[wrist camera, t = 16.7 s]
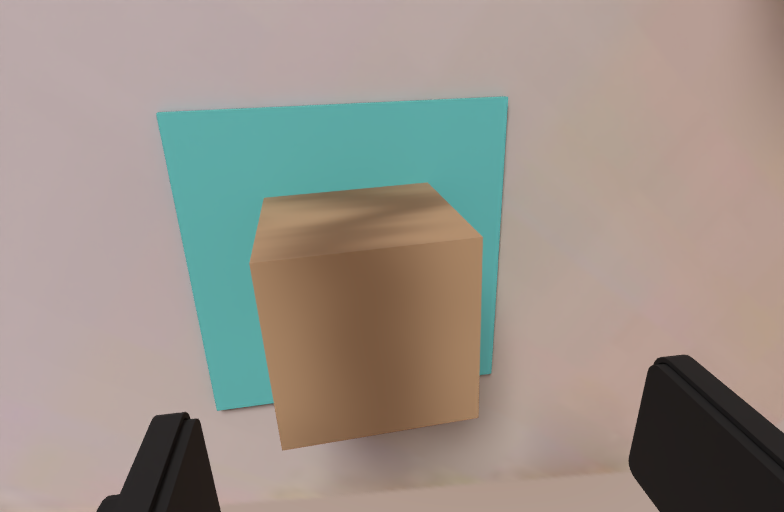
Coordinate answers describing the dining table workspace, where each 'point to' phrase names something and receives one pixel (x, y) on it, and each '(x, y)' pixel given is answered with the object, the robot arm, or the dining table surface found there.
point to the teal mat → (314, 175)
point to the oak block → (368, 311)
